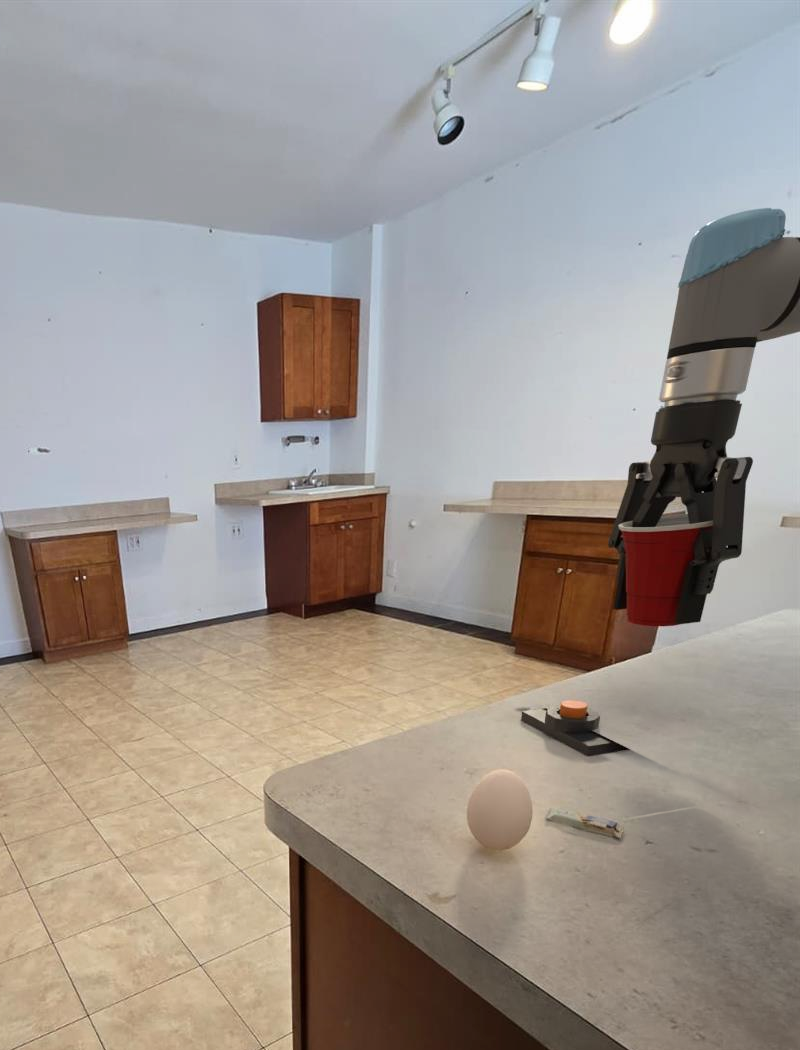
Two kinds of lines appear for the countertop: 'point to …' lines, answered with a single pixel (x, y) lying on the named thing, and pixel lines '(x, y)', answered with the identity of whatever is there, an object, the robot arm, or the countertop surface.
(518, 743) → the countertop surface
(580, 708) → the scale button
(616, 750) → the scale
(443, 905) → the countertop surface
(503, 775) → the egg
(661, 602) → the plastic cup
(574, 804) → the countertop surface
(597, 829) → the granola bar
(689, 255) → the robot arm
